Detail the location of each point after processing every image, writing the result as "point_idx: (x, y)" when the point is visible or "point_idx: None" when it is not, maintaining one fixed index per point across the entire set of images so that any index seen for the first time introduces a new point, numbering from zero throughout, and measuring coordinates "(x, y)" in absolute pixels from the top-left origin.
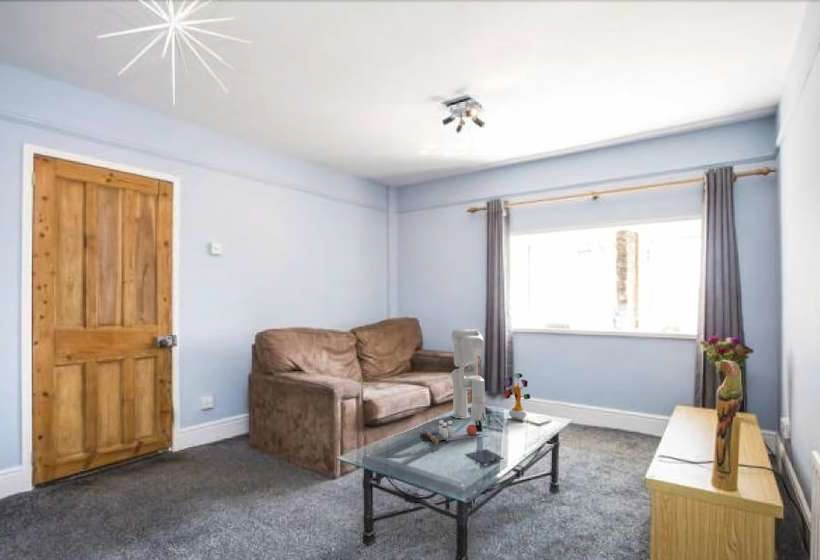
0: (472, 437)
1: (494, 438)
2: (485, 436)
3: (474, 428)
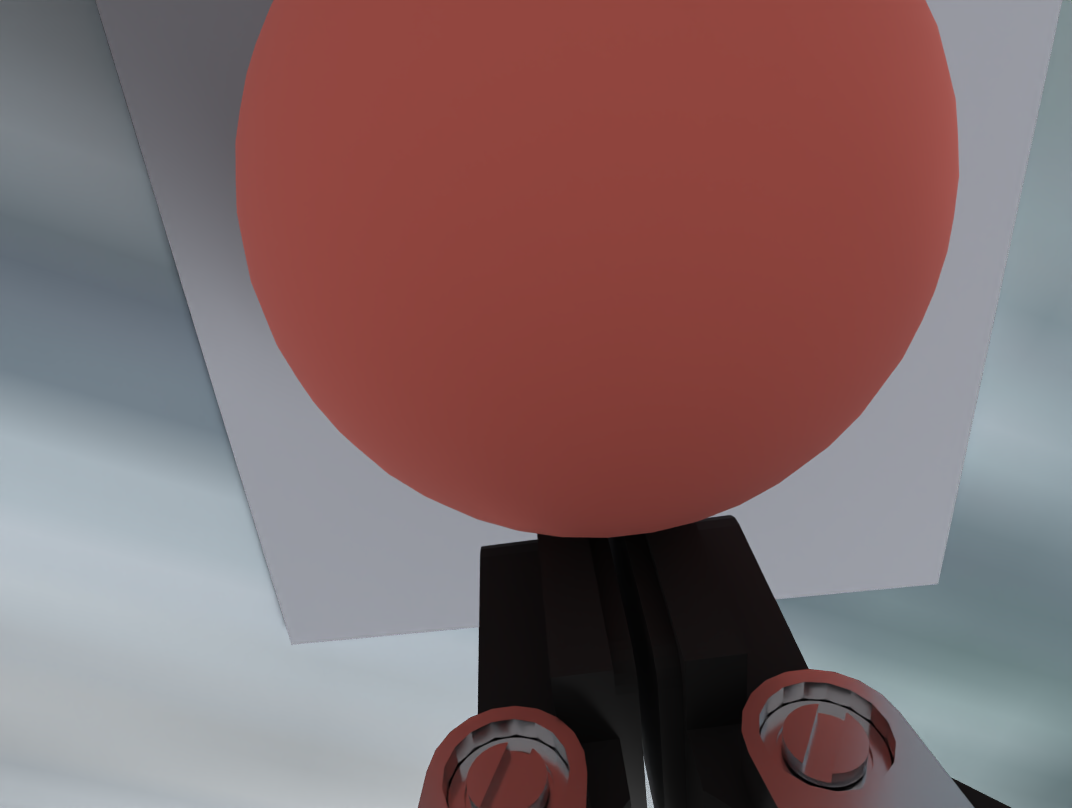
0: (138, 33)
1: (84, 741)
2: (277, 579)
3: (288, 358)
